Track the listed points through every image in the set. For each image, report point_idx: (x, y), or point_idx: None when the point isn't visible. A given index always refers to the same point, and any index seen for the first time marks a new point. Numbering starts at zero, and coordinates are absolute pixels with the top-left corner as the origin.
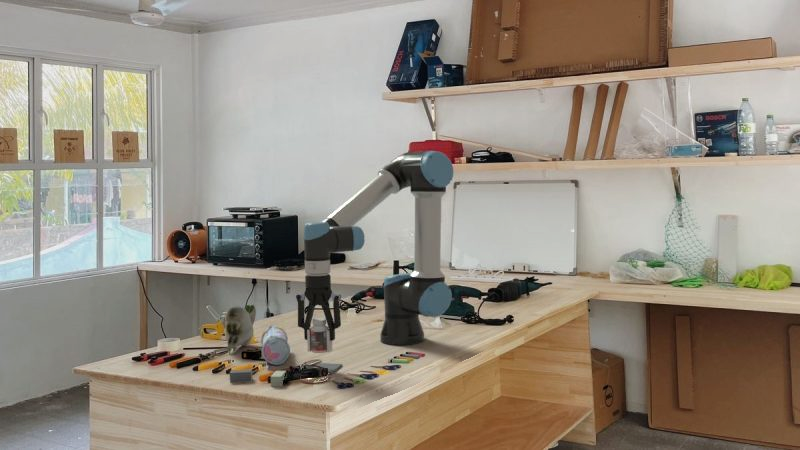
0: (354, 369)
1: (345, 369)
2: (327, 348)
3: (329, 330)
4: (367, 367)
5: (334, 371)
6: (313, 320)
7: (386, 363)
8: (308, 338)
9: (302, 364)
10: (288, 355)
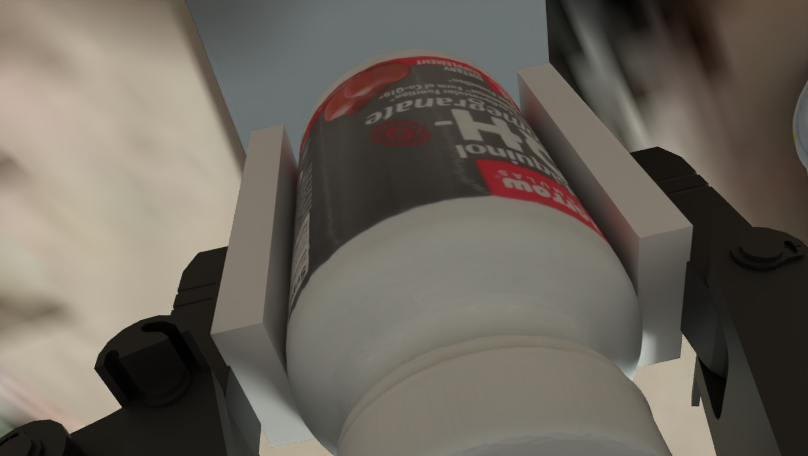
0: (104, 184)
1: (178, 156)
2: (275, 149)
3: (166, 325)
4: (54, 270)
5: (204, 38)
6: (629, 440)
7: (17, 394)
8: (598, 147)
9: (628, 150)
10: (798, 134)
